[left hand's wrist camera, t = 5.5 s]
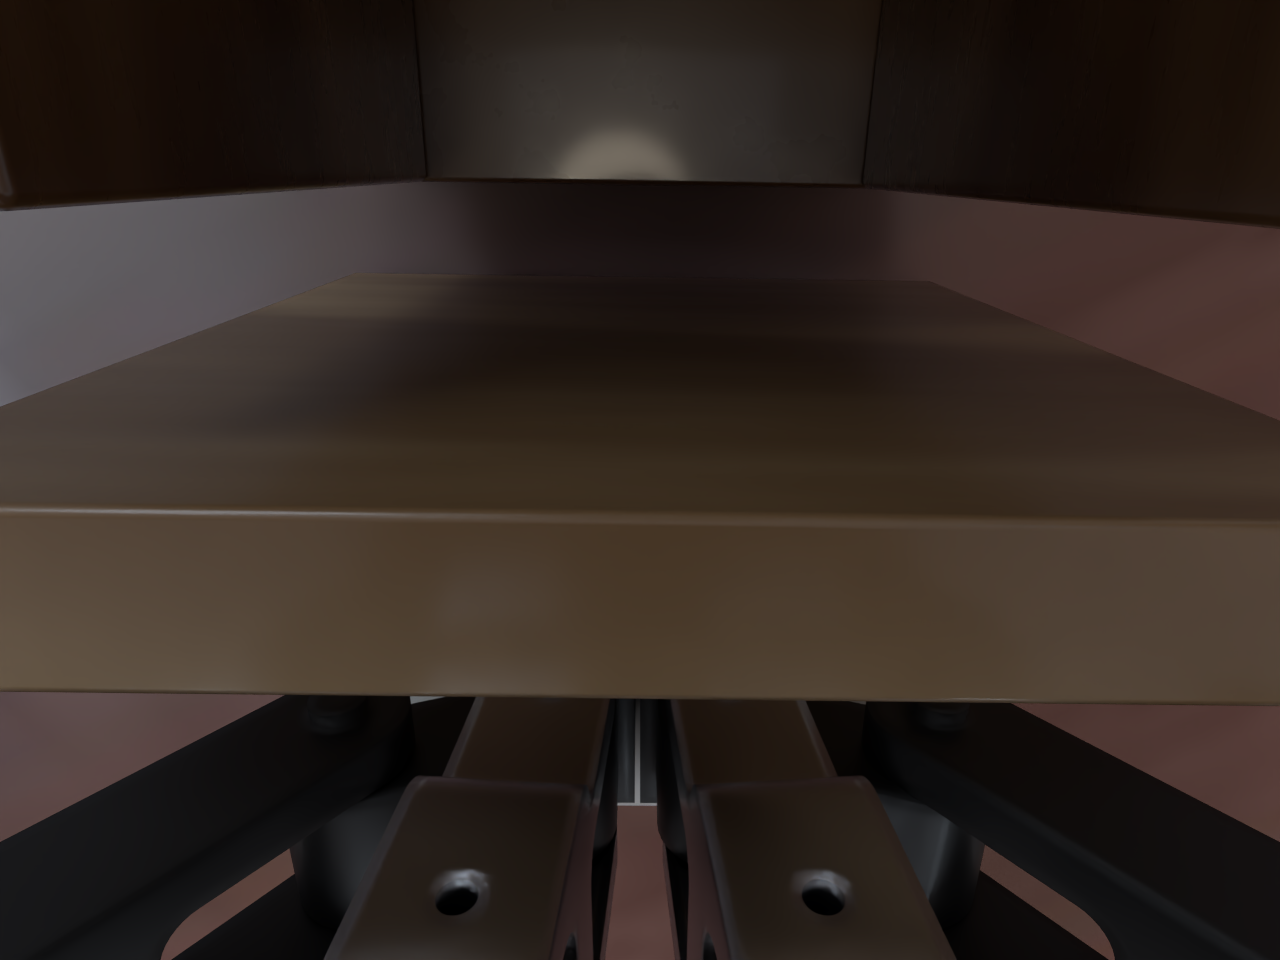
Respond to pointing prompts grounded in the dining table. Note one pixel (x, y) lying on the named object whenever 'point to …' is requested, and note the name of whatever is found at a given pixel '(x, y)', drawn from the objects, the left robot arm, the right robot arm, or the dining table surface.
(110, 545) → the drawer
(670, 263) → the dining table surface
